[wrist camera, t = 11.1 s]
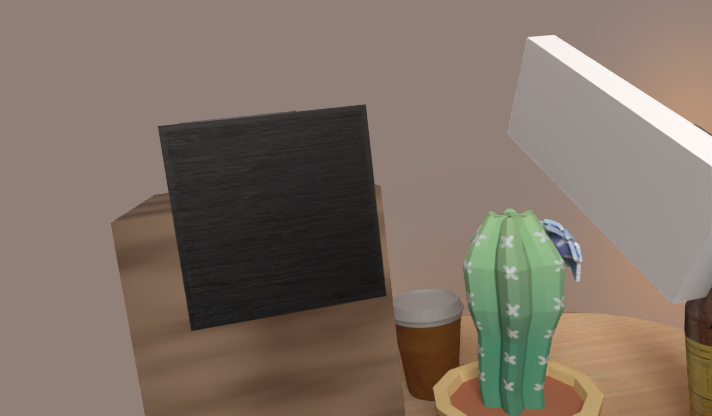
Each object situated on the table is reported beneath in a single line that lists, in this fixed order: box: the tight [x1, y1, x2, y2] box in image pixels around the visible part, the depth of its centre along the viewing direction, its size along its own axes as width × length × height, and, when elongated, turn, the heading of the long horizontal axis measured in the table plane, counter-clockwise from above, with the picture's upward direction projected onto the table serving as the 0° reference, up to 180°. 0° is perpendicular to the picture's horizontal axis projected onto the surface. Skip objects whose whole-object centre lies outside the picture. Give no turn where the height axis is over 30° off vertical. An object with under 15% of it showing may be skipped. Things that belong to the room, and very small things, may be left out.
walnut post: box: [111, 111, 405, 416], centre depth 43 cm, size 18×16×35 cm
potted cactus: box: [433, 209, 604, 416], centre depth 50 cm, size 15×15×25 cm
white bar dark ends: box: [158, 105, 387, 331], centre depth 23 cm, size 26×4×4 cm, turn 13°
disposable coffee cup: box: [393, 288, 464, 400], centre depth 69 cm, size 10×10×12 cm
